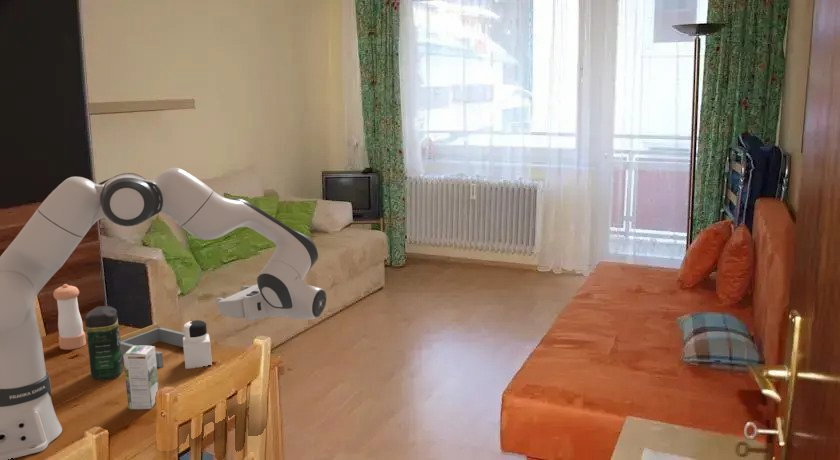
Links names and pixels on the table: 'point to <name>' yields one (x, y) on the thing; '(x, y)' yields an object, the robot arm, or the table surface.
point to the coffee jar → (104, 343)
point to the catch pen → (151, 339)
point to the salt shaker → (69, 318)
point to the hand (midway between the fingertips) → (230, 294)
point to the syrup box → (141, 376)
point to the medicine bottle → (196, 345)
